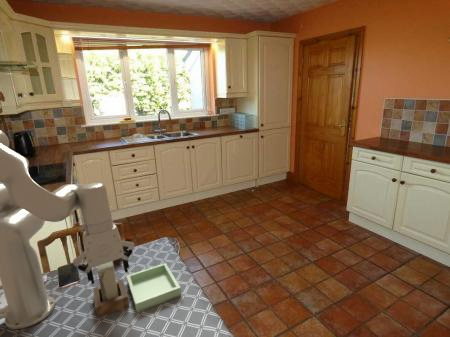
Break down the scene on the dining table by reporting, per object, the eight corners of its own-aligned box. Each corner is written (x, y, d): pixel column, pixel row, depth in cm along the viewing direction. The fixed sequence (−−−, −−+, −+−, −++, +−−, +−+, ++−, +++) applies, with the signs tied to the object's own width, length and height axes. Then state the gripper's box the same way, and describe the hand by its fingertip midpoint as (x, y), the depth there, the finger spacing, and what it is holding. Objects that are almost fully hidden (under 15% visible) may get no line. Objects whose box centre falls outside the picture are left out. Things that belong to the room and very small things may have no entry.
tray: (136, 312, 83) (135, 304, 82) (127, 283, 96) (126, 275, 96) (181, 295, 89) (180, 287, 88) (166, 270, 103) (165, 262, 102)
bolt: (131, 249, 122) (116, 268, 108) (121, 244, 122) (104, 262, 107) (136, 238, 121) (122, 256, 106) (126, 233, 121) (110, 250, 106)
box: (104, 298, 89) (97, 263, 86) (118, 294, 91) (113, 259, 88) (103, 309, 84) (97, 272, 81) (119, 305, 86) (113, 268, 83)
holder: (97, 318, 81) (95, 307, 80) (94, 297, 90) (93, 288, 89) (129, 306, 85) (127, 296, 84) (123, 287, 94) (122, 278, 93)
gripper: (65, 239, 74) (78, 293, 78) (131, 221, 82) (140, 272, 86) (65, 228, 80) (78, 279, 85) (127, 213, 88) (135, 260, 92)
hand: (109, 275), depth 85 cm, fingers open, 9 cm apart
